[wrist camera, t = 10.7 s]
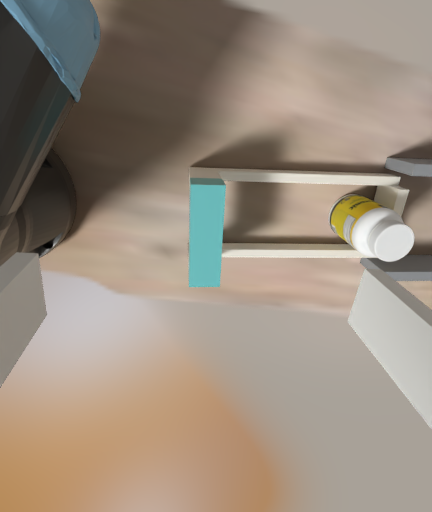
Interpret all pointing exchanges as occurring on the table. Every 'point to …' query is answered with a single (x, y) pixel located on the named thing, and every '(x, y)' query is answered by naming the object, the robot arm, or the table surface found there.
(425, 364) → the robot arm
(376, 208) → the supplement bottle
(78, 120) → the table surface
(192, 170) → the drawer
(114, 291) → the table surface
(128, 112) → the table surface
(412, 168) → the grey u-shaped bracket
